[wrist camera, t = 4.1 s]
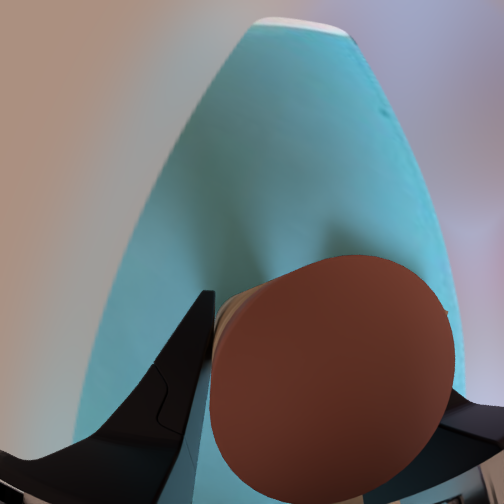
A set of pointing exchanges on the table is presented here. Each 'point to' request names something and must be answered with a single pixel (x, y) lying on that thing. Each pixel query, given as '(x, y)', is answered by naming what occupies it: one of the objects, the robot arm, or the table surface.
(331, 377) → the long pin
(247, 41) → the table surface
